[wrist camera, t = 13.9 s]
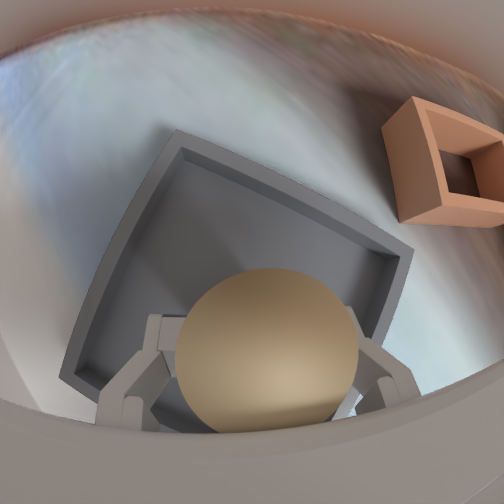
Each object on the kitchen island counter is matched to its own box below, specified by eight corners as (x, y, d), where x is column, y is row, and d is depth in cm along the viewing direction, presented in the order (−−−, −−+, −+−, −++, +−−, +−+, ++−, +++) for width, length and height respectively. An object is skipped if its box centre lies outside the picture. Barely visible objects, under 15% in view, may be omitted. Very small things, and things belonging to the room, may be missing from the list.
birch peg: (259, 370, 16) (309, 459, 6) (189, 339, 16) (148, 402, 6) (291, 301, 17) (383, 311, 7) (221, 269, 16) (225, 235, 7)
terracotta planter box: (489, 228, 23) (525, 217, 17) (399, 223, 21) (442, 205, 16) (472, 152, 24) (503, 134, 18) (380, 128, 22) (411, 95, 17)
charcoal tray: (295, 461, 17) (306, 481, 14) (77, 367, 17) (58, 377, 14) (392, 255, 20) (414, 249, 18) (181, 150, 20) (176, 129, 17)
